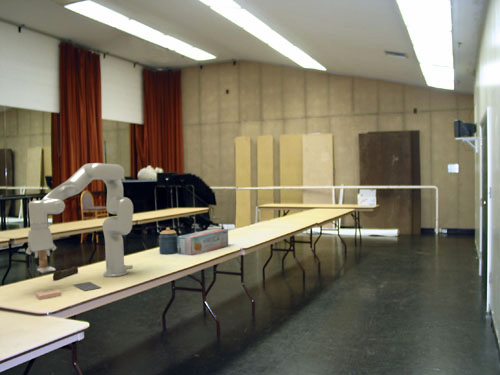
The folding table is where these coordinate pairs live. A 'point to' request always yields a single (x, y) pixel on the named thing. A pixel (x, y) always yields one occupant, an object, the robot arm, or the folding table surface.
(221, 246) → the soda box
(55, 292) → the tile
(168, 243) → the canister
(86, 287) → the mat
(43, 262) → the block on white plate
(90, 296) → the folding table surface
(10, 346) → the folding table surface
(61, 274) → the dark brown bar
